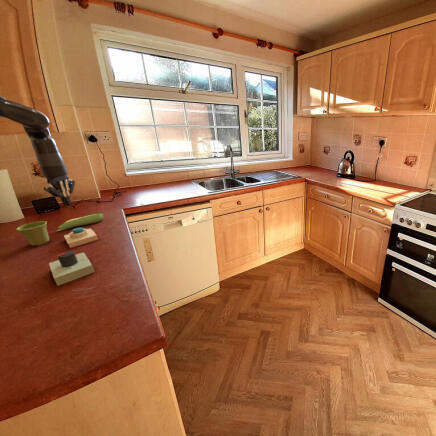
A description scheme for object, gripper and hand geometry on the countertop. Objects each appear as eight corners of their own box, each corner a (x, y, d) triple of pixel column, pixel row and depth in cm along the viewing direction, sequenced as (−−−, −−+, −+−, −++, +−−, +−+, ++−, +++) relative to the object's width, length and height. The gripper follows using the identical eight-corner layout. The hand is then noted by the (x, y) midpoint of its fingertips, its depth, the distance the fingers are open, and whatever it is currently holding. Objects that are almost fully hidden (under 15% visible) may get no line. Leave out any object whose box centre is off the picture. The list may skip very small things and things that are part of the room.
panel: (51, 270, 88) (48, 262, 87) (86, 258, 95) (83, 251, 94) (57, 285, 79) (53, 277, 78) (94, 272, 86) (91, 264, 85)
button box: (65, 239, 111) (62, 231, 110) (92, 232, 118) (89, 224, 116) (70, 247, 104) (66, 239, 102) (98, 239, 111) (95, 231, 109)
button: (73, 232, 109) (71, 229, 109) (83, 230, 112) (81, 226, 111) (74, 235, 107) (73, 231, 106) (84, 232, 110) (83, 228, 109)
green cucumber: (106, 221, 131) (103, 213, 130) (56, 233, 118) (53, 224, 116) (104, 218, 135) (101, 211, 133) (56, 230, 122) (52, 221, 120)
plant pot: (29, 250, 103) (19, 231, 100) (22, 245, 107) (13, 227, 104) (57, 241, 110) (49, 223, 107) (50, 236, 115) (42, 219, 112)
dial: (76, 259, 89) (72, 248, 87) (78, 263, 86) (74, 252, 84) (61, 264, 86) (56, 253, 84) (62, 268, 83) (57, 258, 81)
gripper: (57, 162, 104) (71, 200, 111) (26, 167, 92) (45, 210, 98) (74, 161, 104) (88, 200, 111) (46, 166, 92) (63, 209, 98)
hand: (68, 204), depth 104 cm, fingers closed
